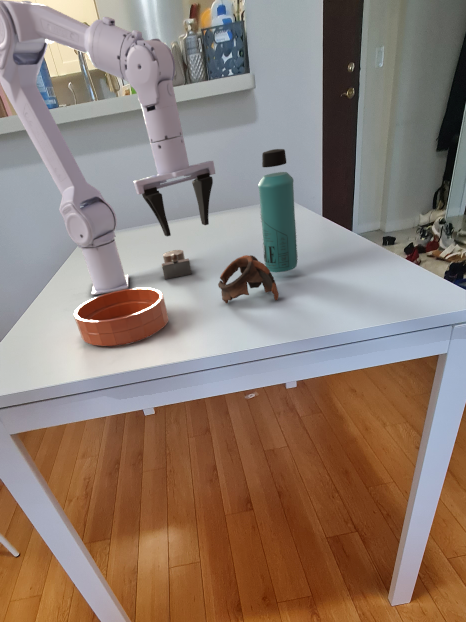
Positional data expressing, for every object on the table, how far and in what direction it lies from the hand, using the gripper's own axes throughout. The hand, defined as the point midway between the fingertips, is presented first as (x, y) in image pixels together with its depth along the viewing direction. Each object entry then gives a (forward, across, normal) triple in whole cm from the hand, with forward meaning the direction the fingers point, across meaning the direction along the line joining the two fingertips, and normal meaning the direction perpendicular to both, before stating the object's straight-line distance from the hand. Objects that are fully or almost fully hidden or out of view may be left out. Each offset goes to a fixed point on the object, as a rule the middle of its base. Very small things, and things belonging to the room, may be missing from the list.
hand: (186, 229), depth 85 cm
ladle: (+10, -1, +13) cm, 16 cm away
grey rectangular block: (+10, -1, +11) cm, 15 cm away
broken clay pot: (+11, +5, -15) cm, 19 cm away
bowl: (+10, -18, -13) cm, 24 cm away
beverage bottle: (+11, +15, -7) cm, 20 cm away
